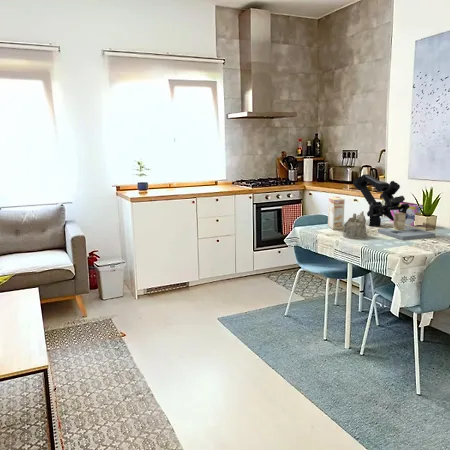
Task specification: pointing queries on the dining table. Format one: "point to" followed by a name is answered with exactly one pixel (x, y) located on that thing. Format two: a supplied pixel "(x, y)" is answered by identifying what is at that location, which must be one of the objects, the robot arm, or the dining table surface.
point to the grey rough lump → (355, 227)
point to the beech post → (399, 221)
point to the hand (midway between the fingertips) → (399, 219)
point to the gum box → (409, 212)
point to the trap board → (406, 233)
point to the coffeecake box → (336, 213)
